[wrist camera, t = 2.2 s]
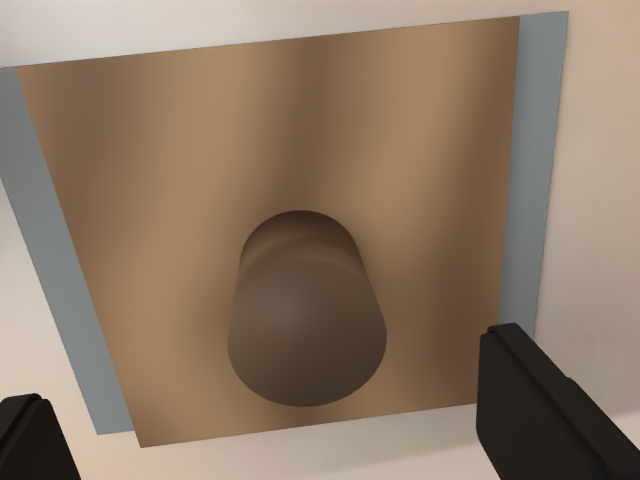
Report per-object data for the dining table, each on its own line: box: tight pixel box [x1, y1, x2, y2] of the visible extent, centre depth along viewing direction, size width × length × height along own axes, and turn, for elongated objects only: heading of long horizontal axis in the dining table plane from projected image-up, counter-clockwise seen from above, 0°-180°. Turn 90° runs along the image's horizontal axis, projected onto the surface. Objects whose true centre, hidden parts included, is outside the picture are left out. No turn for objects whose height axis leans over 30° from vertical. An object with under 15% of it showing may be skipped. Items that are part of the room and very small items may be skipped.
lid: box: [15, 16, 520, 448], centre depth 14 cm, size 14×14×5 cm
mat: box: [0, 11, 569, 435], centre depth 17 cm, size 18×14×1 cm
